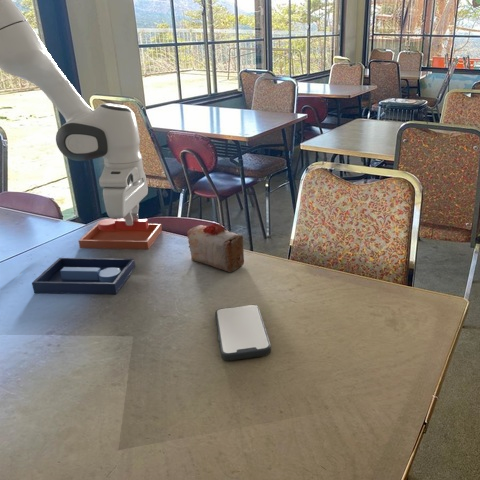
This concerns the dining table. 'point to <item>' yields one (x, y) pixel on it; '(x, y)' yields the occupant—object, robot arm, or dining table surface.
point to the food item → (216, 247)
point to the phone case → (241, 332)
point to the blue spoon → (90, 274)
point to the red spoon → (122, 224)
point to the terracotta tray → (121, 238)
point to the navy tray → (55, 284)
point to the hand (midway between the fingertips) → (132, 222)
